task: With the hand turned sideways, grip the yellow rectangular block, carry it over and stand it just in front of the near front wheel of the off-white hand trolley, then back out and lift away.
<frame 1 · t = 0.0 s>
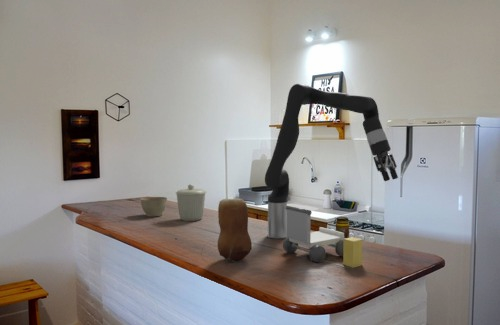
hand: (391, 179, 175), 31 cm above the counter, tool tilted 20°, fingers open, 8 cm apart
butternut squash: (234, 260, 173), on the counter
trolley: (316, 254, 181), on the counter
planter bowl: (154, 215, 271), on the counter
yellow rectangular block: (352, 264, 166), on the counter
canister: (191, 220, 258), on the counter
condiment: (340, 243, 199), on the counter
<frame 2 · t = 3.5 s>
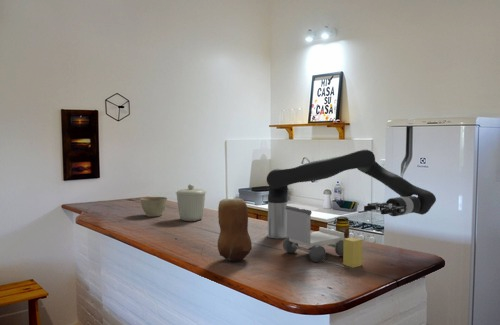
hand: (372, 210, 171), 20 cm above the counter, tool horizontal, fingers open, 8 cm apart
nothing on the counter moved.
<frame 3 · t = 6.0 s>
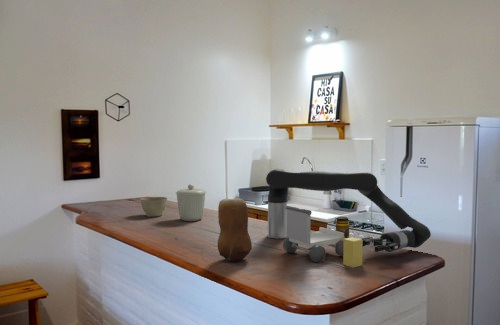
hand: (366, 246, 170), 6 cm above the counter, tool horizontal, fingers open, 8 cm apart
nothing on the counter moved.
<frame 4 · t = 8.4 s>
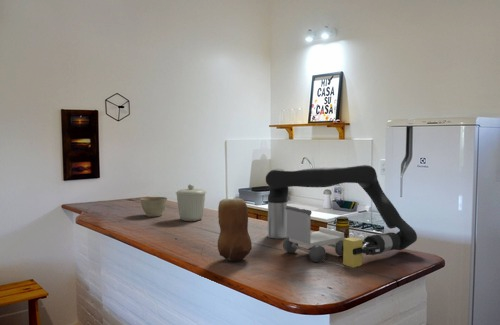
hand: (348, 250, 164), 6 cm above the counter, tool horizontal, fingers closed on yellow rectangular block, 5 cm apart
yellow rectangular block: (352, 264, 166), on the counter, touching gripper
everything else where it was.
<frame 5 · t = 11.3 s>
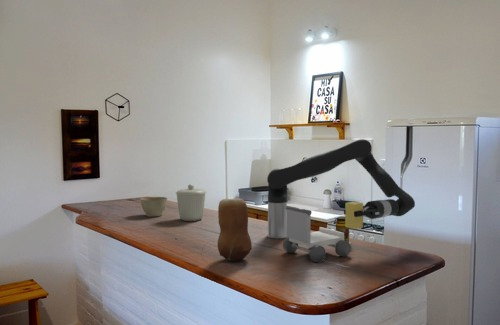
hand: (349, 213, 177), 18 cm above the counter, tool horizontal, fingers closed on yellow rectangular block, 5 cm apart
yellow rectangular block: (354, 227, 178), point 12 cm above the counter, touching gripper
everything else where it was.
when the fingers open (7 cm above the counter, at t = 14.2 s): yellow rectangular block stays where it is, on the counter.
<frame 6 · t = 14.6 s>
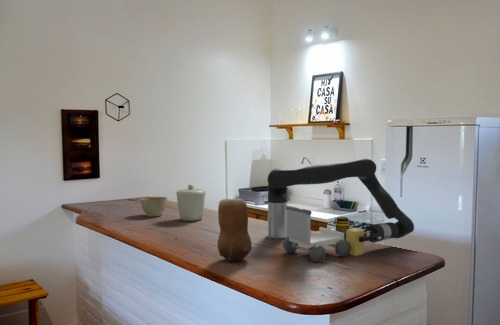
hand: (351, 237, 180), 7 cm above the counter, tool horizontal, fingers open, 8 cm apart
yellow rectangular block: (354, 253, 182), on the counter
everything else where it was.
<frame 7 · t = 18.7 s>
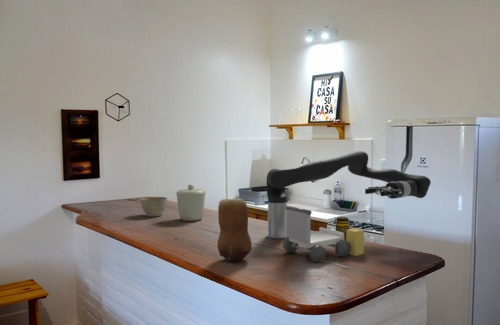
hand: (373, 192, 186), 25 cm above the counter, tool horizontal, fingers open, 8 cm apart
nothing on the counter moved.
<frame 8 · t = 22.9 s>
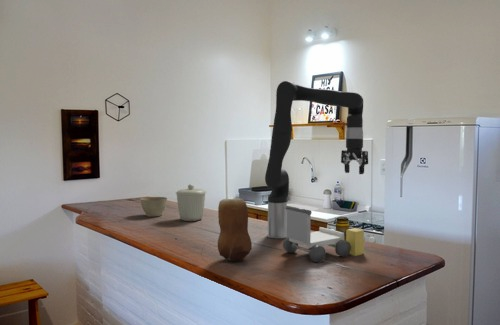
hand: (354, 173, 197), 32 cm above the counter, tool pointing down, fingers open, 8 cm apart
nothing on the counter moved.
at the end: yellow rectangular block 0.2 cm from the target spot on the counter beside the trolley, on the counter; yellow rectangular block tilted 0°; the gripper is holding nothing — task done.
